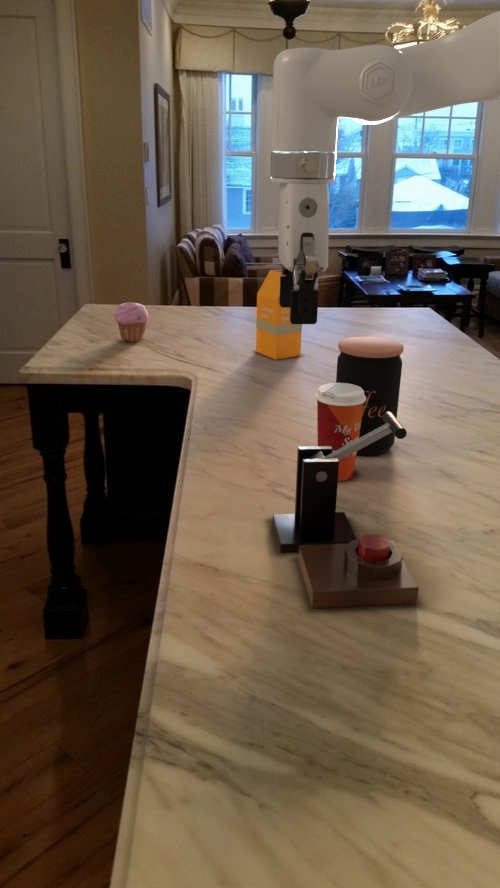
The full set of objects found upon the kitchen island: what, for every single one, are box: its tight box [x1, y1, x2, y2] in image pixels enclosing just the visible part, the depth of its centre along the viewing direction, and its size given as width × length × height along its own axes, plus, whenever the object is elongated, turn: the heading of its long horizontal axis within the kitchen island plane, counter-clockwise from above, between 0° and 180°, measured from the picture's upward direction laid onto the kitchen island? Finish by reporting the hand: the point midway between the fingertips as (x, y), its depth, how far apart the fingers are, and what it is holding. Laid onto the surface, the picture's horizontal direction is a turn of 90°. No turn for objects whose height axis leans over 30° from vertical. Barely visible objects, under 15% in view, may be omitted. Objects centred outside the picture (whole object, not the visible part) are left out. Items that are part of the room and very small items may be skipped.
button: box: [358, 533, 391, 561], centre depth 82 cm, size 4×4×2 cm
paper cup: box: [314, 382, 366, 482], centre depth 109 cm, size 8×8×14 cm
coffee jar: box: [335, 335, 404, 457], centre depth 119 cm, size 11×11×18 cm
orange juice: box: [255, 269, 303, 361], centre depth 173 cm, size 8×9×20 cm
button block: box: [297, 537, 420, 609], centre depth 83 cm, size 12×10×4 cm
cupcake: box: [113, 301, 149, 343], centre depth 185 cm, size 9×9×10 cm
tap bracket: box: [272, 445, 357, 553], centre depth 91 cm, size 10×8×12 cm
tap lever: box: [302, 412, 408, 463], centre depth 89 cm, size 13×6×2 cm, turn 94°
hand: (297, 314), depth 89 cm, fingers open, 9 cm apart
